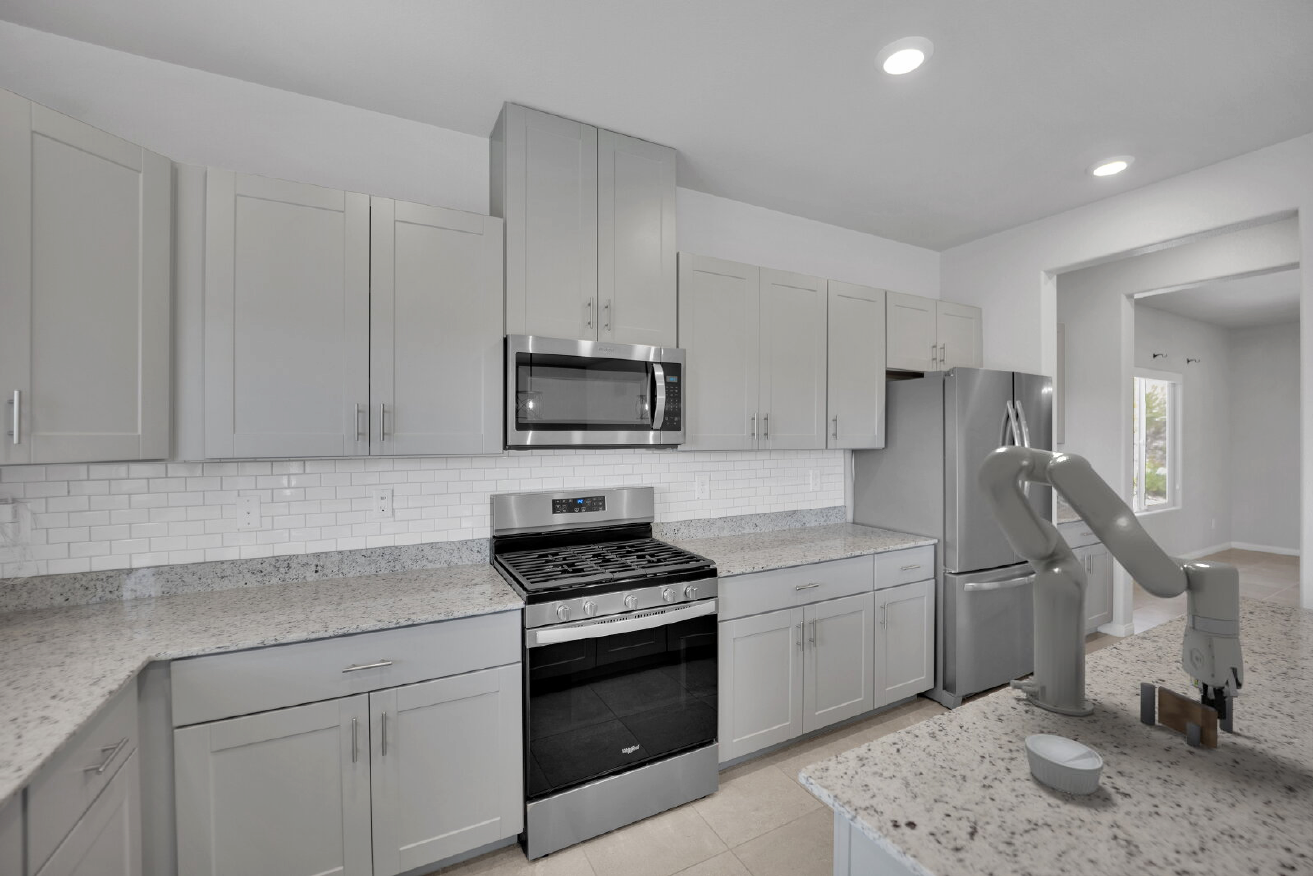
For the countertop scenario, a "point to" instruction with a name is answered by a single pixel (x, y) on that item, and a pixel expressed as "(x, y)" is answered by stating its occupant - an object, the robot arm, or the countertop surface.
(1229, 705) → the post
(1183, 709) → the gate
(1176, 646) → the countertop surface
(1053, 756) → the ramekin
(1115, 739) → the countertop surface
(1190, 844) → the countertop surface
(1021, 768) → the countertop surface
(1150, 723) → the gate frame
